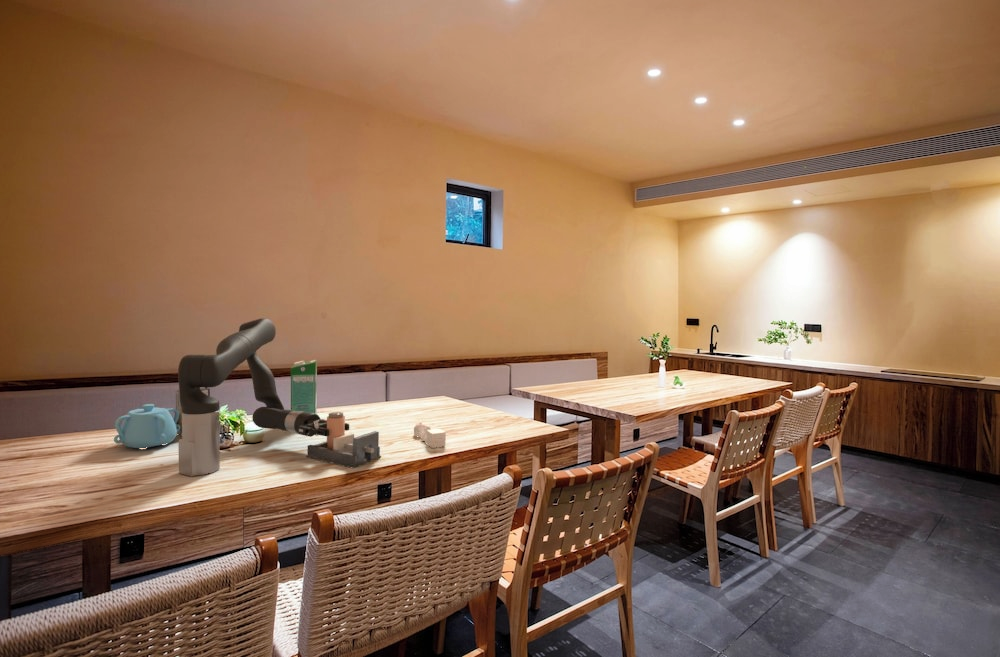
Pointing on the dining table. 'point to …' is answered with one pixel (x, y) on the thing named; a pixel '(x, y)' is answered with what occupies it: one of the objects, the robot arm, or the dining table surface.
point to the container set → (430, 435)
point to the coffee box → (179, 408)
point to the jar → (335, 427)
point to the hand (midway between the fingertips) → (338, 429)
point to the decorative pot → (147, 427)
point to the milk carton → (304, 386)
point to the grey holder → (346, 458)
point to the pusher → (347, 444)
